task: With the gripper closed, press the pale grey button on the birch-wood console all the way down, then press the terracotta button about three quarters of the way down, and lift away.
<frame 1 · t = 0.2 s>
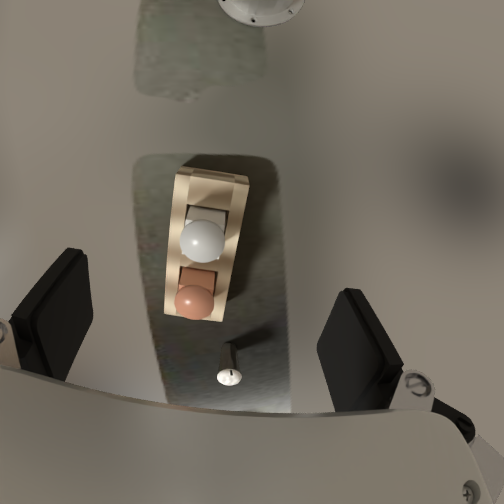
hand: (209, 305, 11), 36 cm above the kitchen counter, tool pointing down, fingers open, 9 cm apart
grey button: (203, 233, 41), point 7 cm above the kitchen counter, slide at 0.0 cm
milkshake: (229, 345, 61), on the kitchen counter
terracotta button: (195, 292, 45), point 7 cm above the kitchen counter, slide at 0.0 cm
console: (203, 242, 49), on the kitchen counter
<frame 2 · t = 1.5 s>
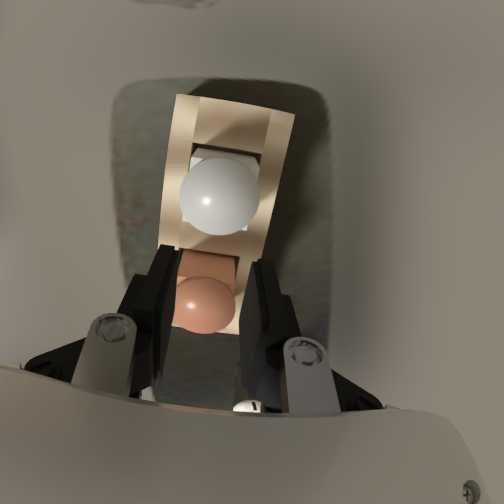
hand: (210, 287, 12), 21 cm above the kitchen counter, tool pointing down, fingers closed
grey button: (220, 187, 24), point 7 cm above the kitchen counter, slide at 0.0 cm
milkshake: (247, 365, 44), on the kitchen counter
terracotta button: (204, 290, 28), point 7 cm above the kitchen counter, slide at 0.0 cm
console: (214, 214, 32), on the kitchen counter
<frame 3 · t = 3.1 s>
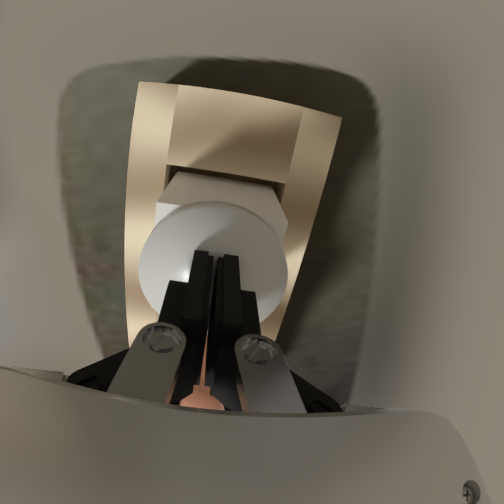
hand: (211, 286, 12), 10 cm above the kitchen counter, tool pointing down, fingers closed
grey button: (215, 245, 14), point 7 cm above the kitchen counter, slide at 0.1 cm, touching gripper
terracotta button: (195, 380, 19), point 7 cm above the kitchen counter, slide at 0.0 cm
console: (209, 262, 23), on the kitchen counter
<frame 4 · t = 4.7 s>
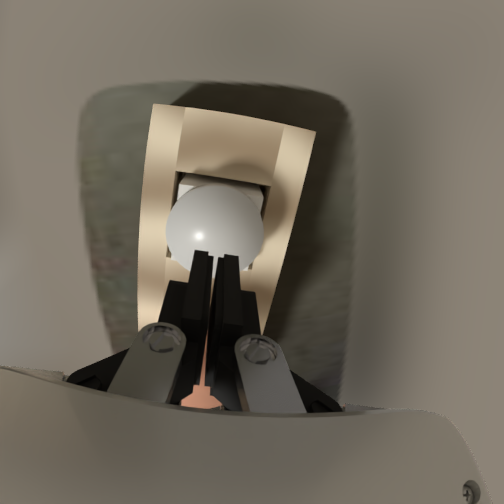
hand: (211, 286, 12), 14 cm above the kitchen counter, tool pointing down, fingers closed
grey button: (216, 218, 20), point 4 cm above the kitchen counter, slide at 3.0 cm
terracotta button: (196, 357, 22), point 7 cm above the kitchen counter, slide at 0.0 cm
console: (208, 256, 26), on the kitchen counter
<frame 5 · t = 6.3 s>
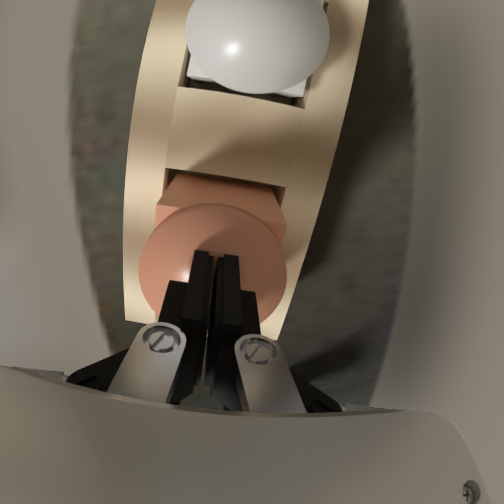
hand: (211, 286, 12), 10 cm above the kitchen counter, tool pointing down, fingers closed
grey button: (253, 41, 12), point 4 cm above the kitchen counter, slide at 3.0 cm
terracotta button: (214, 247, 14), point 7 cm above the kitchen counter, slide at 0.4 cm, touching gripper
console: (232, 128, 18), on the kitchen counter
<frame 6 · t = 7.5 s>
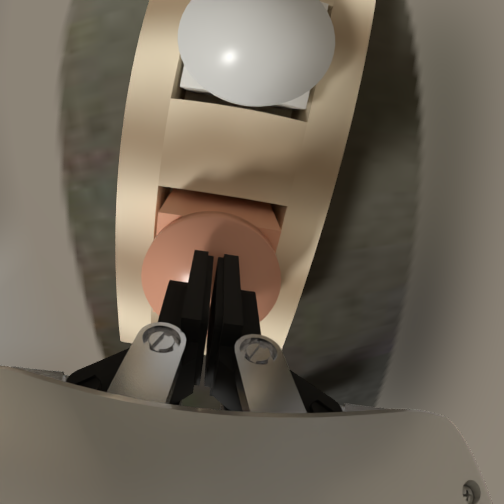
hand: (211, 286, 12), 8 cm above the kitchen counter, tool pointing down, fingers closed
grey button: (252, 48, 11), point 4 cm above the kitchen counter, slide at 3.0 cm
terracotta button: (213, 253, 15), point 5 cm above the kitchen counter, slide at 2.2 cm
console: (230, 140, 17), on the kitchen counter
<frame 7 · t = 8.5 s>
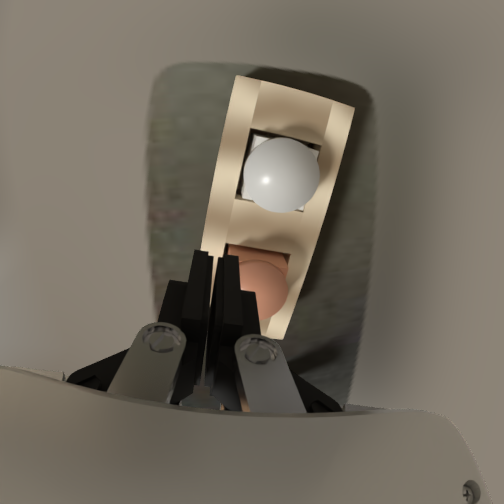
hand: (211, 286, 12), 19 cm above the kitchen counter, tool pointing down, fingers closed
grey button: (276, 169, 25), point 4 cm above the kitchen counter, slide at 3.0 cm
terracotta button: (251, 277, 28), point 5 cm above the kitchen counter, slide at 2.2 cm
console: (258, 209, 31), on the kitchen counter
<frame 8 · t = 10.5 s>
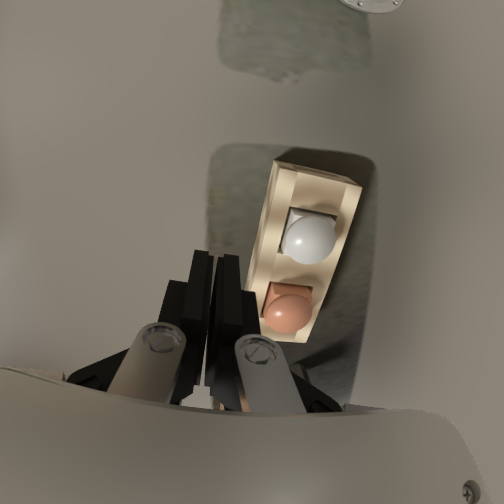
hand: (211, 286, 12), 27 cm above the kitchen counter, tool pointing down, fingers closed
grey button: (305, 231, 36), point 4 cm above the kitchen counter, slide at 3.0 cm
milkshake: (297, 365, 54), on the kitchen counter
terracotta button: (286, 302, 40), point 5 cm above the kitchen counter, slide at 2.2 cm
console: (289, 252, 42), on the kitchen counter
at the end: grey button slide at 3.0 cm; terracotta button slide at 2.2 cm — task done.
